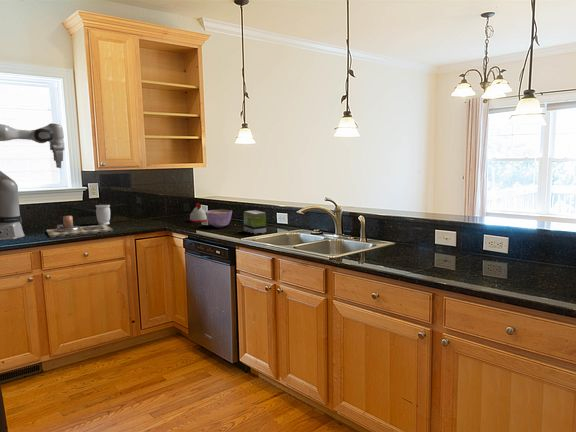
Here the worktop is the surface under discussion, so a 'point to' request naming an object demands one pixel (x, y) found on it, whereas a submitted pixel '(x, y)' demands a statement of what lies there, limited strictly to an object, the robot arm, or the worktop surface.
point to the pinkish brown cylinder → (67, 222)
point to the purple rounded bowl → (218, 217)
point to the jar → (103, 214)
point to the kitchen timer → (198, 214)
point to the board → (81, 230)
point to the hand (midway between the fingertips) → (58, 167)
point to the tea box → (254, 221)
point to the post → (75, 228)
